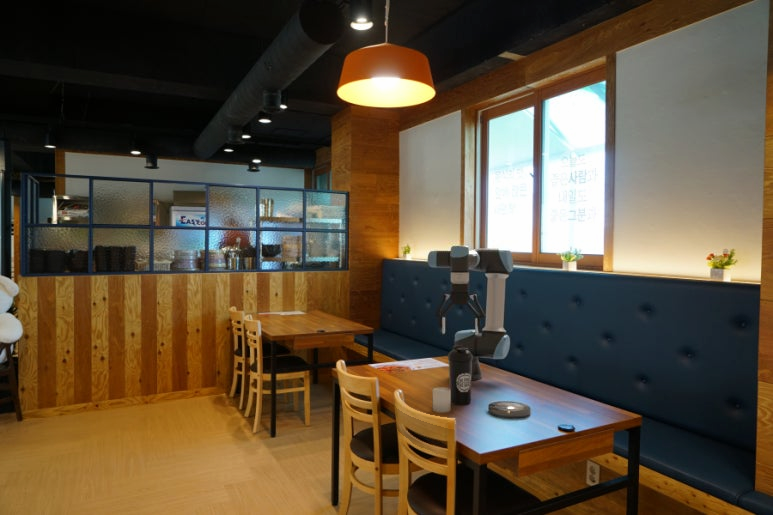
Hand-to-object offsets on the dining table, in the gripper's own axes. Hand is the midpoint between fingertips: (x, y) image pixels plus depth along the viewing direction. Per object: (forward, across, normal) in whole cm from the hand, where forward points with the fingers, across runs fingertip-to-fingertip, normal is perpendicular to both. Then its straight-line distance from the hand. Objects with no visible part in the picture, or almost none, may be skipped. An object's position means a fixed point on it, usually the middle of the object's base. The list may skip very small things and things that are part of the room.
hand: (460, 333), depth 215 cm
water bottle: (+29, 0, 0) cm, 29 cm away
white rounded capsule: (+29, -6, -12) cm, 31 cm away
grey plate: (+28, +20, -9) cm, 36 cm away
